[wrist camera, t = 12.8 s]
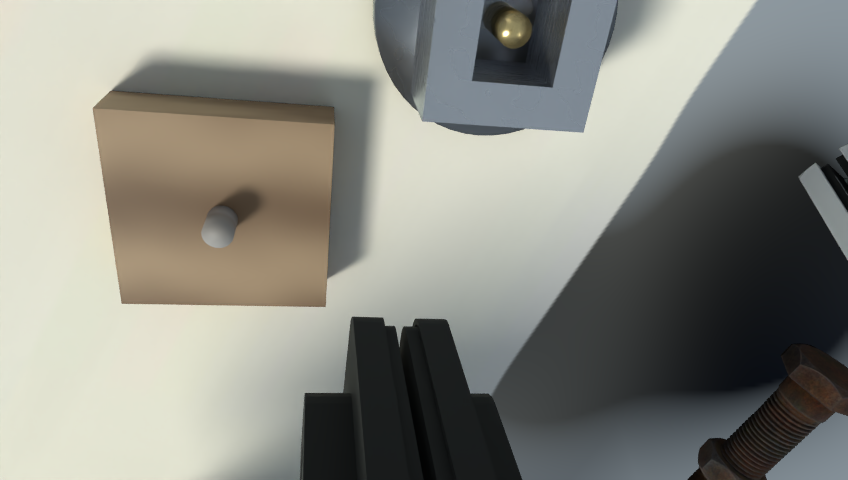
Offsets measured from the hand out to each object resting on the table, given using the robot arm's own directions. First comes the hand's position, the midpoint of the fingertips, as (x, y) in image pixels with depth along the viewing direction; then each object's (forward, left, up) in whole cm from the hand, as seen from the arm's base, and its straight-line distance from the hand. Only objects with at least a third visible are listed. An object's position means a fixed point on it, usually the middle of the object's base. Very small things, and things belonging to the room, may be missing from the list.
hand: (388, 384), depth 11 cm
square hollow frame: (+3, -6, -20) cm, 21 cm away
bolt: (-23, -30, -21) cm, 44 cm away
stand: (-7, +6, -21) cm, 23 cm away
